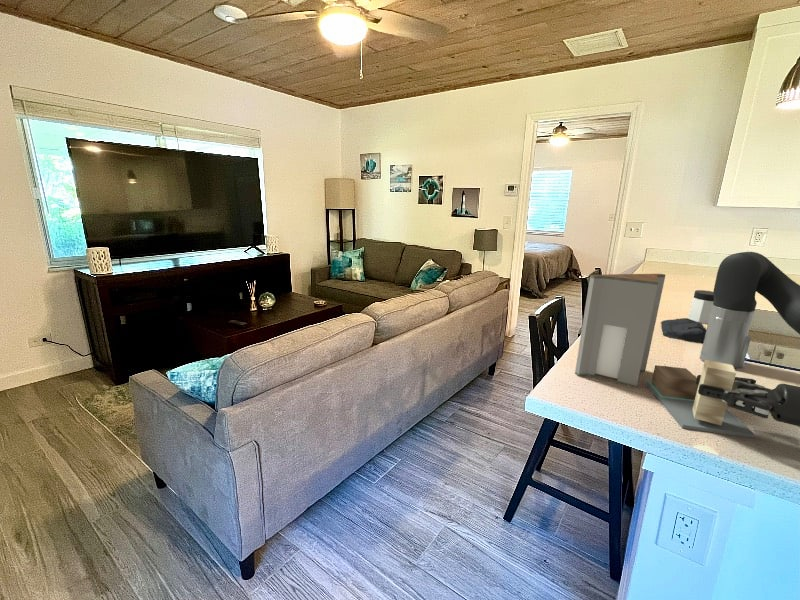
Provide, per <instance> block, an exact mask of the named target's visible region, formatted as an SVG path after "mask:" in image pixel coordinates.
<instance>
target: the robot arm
mask: <svg viewBox="0 0 800 600" xmlns="http://www.w3.org/2000/svg"><path fill="white" fill-rule="evenodd" d="M712 292H713V296H714V302H713V306H712V310H711V314H710V318H709V322H708V324H707V326H706V334H705V338H704V342H703V343H702V347H701V350H700V355H699V359H700V360H701V361H703V362H705V360H710V361H715V362H720V363H725V364H730V365H733V367H734V369H736V368H743V367H744V364H745V361H746V358H747V357H746V356H747V355H748V354H747V353H748V350H749V347H750V344H751V343H750V342H751V339H752V337H751V336H750V335H749V331H750V328H751V324H752V322H753V319H754V316H755V315H754V314H755V310H756V307H757V304H758V302H757V299H756V293H758V294H759V295H761V296H762V297H763V298H764V299H766V300H767V301H768V302H769V303H770V304H771V305H772V307H774V309H775V310H776V312H777V314H778V315H779V316H780V317H781V318H782V320H783V321H784V322H785V323H786V324H787V325H788V326H789V327H790V328H791V329H792V330H794V331H795V332H796V333H797V334H798V335H800V284H798V283H797V282H796V281H794V280H793V279H791V278H790V277H789V276H788V275H787V274H786V273H785V272H783V271H782V270H781V269H780V268H779V267H778V266H776V265H775V264H774V263H773V262H772V261H771V260H770V259H769V258H767V257H766V256H765V255H763V254H762V253H759V252H757V251H756V252H755V251H743V252H736V253H732V254H730V255H728V256H726V257H725V258H724V259H722V261H721V262H720V264H719V266H718V270H717V273H716V278H715V282H714V287H713V291H712ZM696 377H697V378H696V384H697V385H699V382H700V378H701V374H698V375H697V376H696ZM698 393H699V394H700V395H704V396H708V397H712V398H716V399H721V401H723V402H726V403H727V407H729V408H732V409H735V410H738V411H740V412H744V413H747V414H750V415H753V416H756V417H759V418H762V419H766V420H767V419H768V418H769V416H771V418H772V419H773V420H774V421H776V422H780V423H783V424H786V425H791V426H795V427H798V428H799V427H800V386H799V385H792V384H788V383H784V382H783V383H778V384H777V385H776V386H775V388H773V389H771V388H767V387H765V386H763V385H760V384H757V380H756V379H754V378H749V377H738V376H735V379H734V383H733V386H732V390H729V389H724V391H723V388H718V387H714V386H709V385H704V384H700V386H699V389H698Z"/></svg>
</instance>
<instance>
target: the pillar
mask: <svg viewBox="0 0 800 600" xmlns="http://www.w3.org/2000/svg"><path fill="white" fill-rule="evenodd" d="M702 367H703V368H702V370H701V374H700V375H701V378H700V382H699V385H698V389H699V386H700V384H704V385H709V386H714V387H718V388H723V391H724V389H729V390H732V386H733V383H734V379H735V377H737V376H736V375H737V372H736V368H734V367H733V365H730V364H725V363H720V362H715V361H710V360H705V361H703V366H702ZM698 389H697V393H696V397H695V401H694V405H693V415H694V419H698V420H702V421H706V422H710V423H714V424H717V425H722V421H723V418H724V414H725V411H726V409H727V408H728V406H727V403H726V402H723V401H721V399H716V398H712V397H708V396H704V395H700V394H699V393H698Z"/></svg>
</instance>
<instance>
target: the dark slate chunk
mask: <svg viewBox="0 0 800 600" xmlns="http://www.w3.org/2000/svg"><path fill="white" fill-rule="evenodd" d="M660 322H661V323H660V324H661V325H660V326H661V332H662V336H664V337H667V338H669V339H672V340H673V339H674V340H679V341H680V340H681V341H683V342H688V343H689V342H690V343H695V344H703V342H704V338H705V334H706V330H707V327H705V326H704V324H701V323H700V322H697V321H693V320H691V319H688V317H685V318H682V317H681V318H676V319H665V320H662V321H660Z"/></svg>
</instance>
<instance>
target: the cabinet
mask: <svg viewBox="0 0 800 600" xmlns="http://www.w3.org/2000/svg"><path fill="white" fill-rule="evenodd" d="M665 279H666V274H665V273H621V274H620V273H619V274H616V273H614V274H590V276H589V282H588V287H587V294H586V299H585V300H586V301H585V306H584V312H583V313H584V314H583V320H582V326H581V333H580V340H579V344H578V345H579V346H578V350H577V351H578V352H577V358H576V365H575V371H574V374H575V375H576V377H591V378H595V379H599V380H603V381H607V382H610V383H616V384H619V385H622V386H627V387H630V388H634V389H637V387H638V383H639V378H640V373H645V372H646V370H647V364H648V360H649V355H650V351H651V345H652V340H653V336H654V331H655V326H656V322H657V318H658V313H659V308H660V303H661V298H662V293H663V289H664V284H665Z"/></svg>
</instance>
